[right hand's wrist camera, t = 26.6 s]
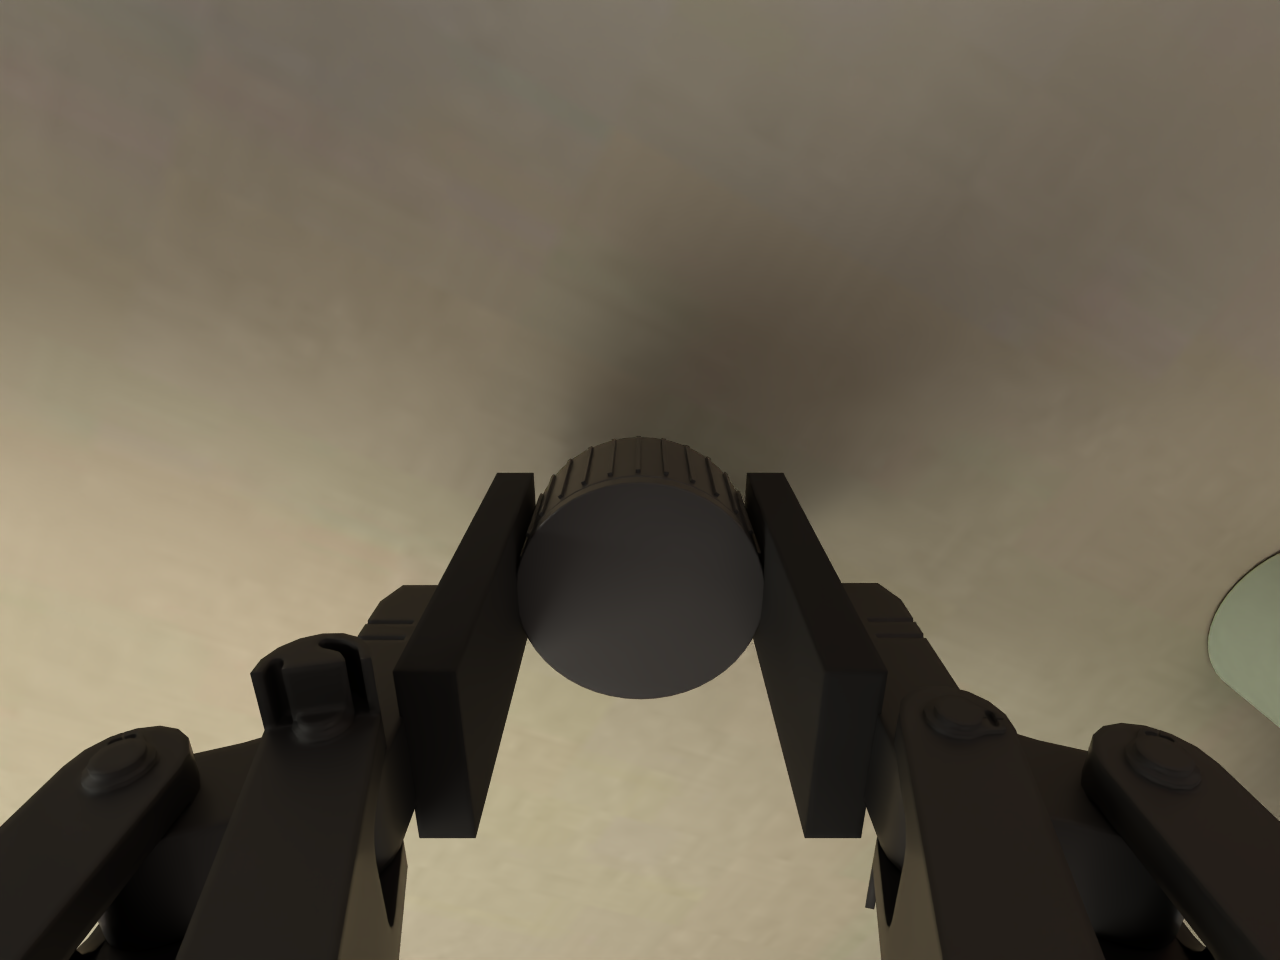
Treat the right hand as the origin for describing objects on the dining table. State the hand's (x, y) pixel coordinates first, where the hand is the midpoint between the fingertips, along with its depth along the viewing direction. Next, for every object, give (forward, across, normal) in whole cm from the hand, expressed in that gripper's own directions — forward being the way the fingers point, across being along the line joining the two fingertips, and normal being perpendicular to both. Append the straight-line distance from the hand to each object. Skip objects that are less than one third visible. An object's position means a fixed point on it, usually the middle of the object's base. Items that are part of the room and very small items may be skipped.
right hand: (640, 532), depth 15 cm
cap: (-2, 0, 0) cm, 2 cm away
